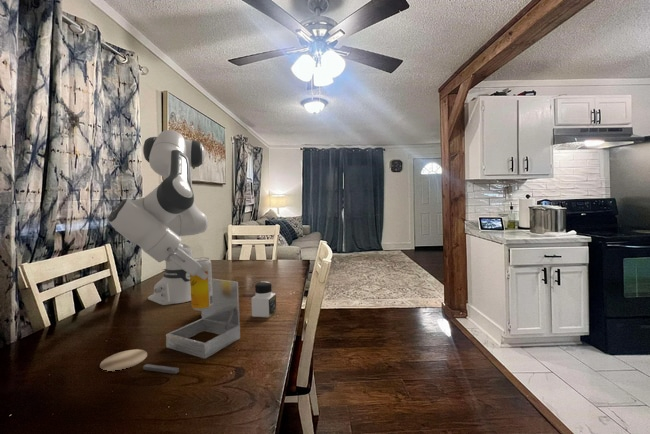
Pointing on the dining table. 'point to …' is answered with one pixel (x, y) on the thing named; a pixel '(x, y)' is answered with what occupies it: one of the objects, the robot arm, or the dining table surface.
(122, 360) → the pad
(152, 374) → the dining table surface
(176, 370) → the bar
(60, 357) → the dining table surface
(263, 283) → the medicine bottle
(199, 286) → the beer can
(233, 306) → the case
